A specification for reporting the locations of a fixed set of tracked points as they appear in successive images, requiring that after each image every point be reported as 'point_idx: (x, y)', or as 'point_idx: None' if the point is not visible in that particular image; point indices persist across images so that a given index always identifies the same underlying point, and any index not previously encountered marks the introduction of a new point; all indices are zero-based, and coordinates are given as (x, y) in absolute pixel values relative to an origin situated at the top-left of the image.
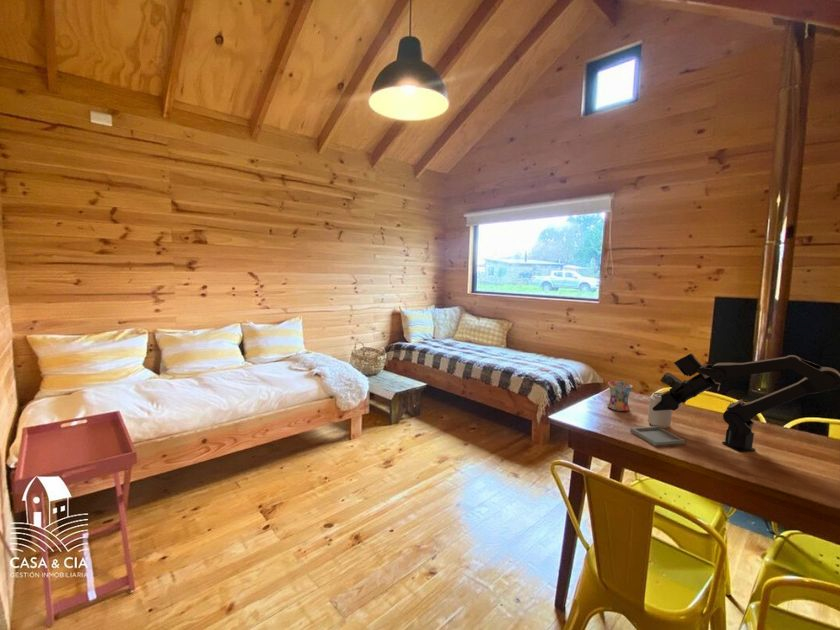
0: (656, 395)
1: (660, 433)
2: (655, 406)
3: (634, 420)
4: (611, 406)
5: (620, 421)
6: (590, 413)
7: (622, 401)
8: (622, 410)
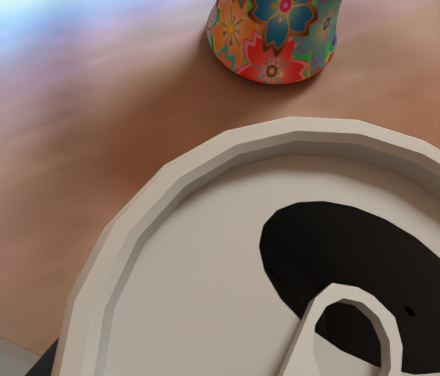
0: (258, 230)
1: None
2: (52, 356)
3: None
4: (211, 15)
5: (55, 148)
6: (41, 10)
7: (250, 11)
8: (233, 71)
